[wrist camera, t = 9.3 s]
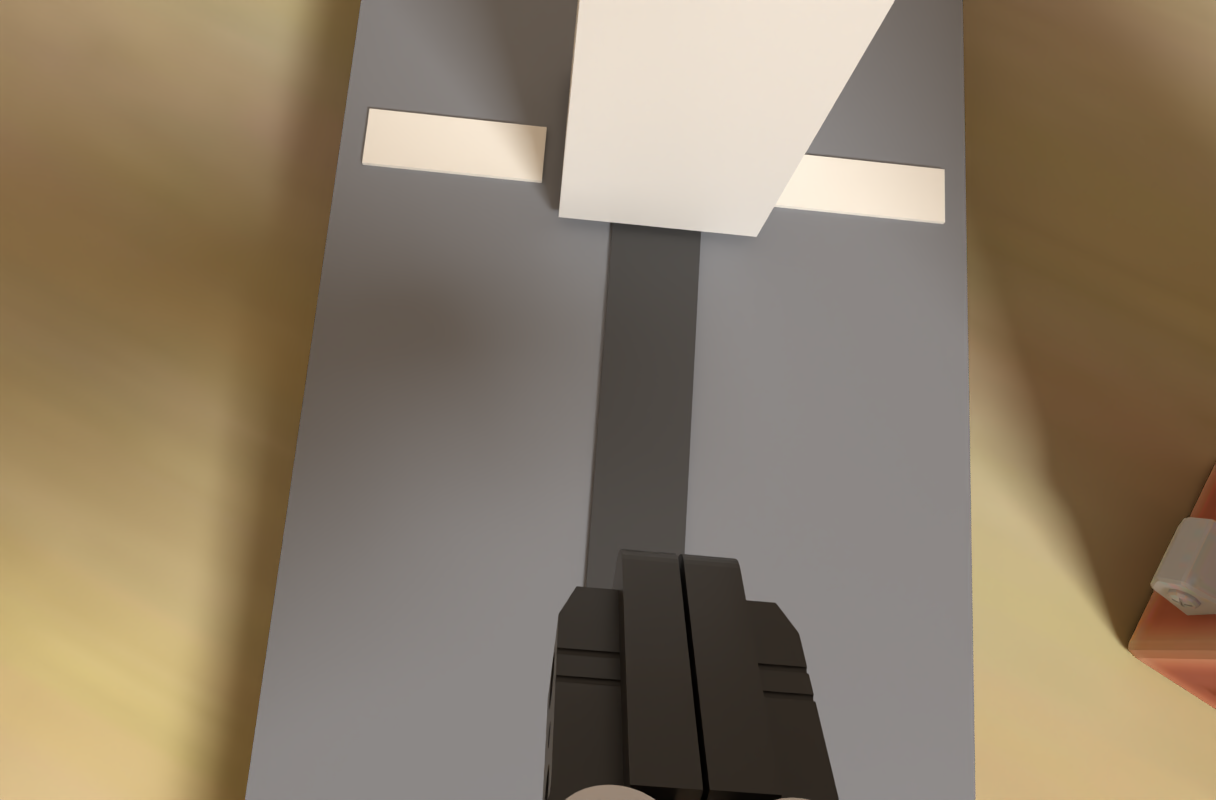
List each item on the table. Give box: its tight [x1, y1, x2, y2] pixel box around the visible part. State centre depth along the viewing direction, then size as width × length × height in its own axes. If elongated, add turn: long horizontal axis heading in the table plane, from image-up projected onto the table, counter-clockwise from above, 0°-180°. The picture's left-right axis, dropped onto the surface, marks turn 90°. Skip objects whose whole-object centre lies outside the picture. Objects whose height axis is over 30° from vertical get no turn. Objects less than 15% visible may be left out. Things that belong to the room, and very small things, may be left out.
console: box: [245, 0, 975, 800], centre depth 22 cm, size 13×27×3 cm, turn 176°
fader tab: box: [559, 0, 895, 237], centre depth 17 cm, size 4×4×8 cm
